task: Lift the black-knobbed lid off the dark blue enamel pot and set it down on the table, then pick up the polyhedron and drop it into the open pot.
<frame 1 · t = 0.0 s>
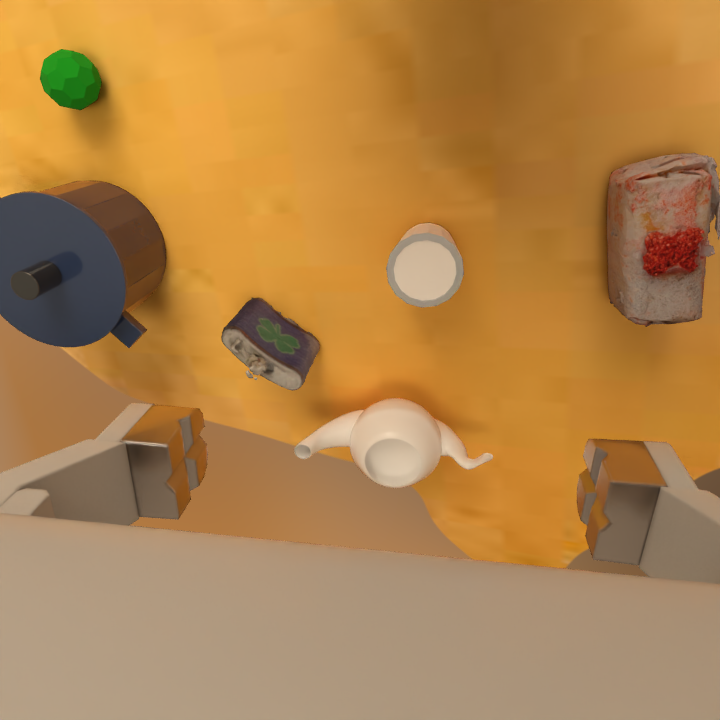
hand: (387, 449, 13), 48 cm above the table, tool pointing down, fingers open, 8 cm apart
polyhedron: (86, 80, 57), on the table
flask: (283, 326, 65), on the table
tan cup: (426, 250, 60), on the table
teapot: (399, 414, 68), on the table
food item: (643, 228, 56), on the table
pot lid: (51, 272, 55), point 9 cm above the table, touching pot
pot: (104, 246, 64), on the table
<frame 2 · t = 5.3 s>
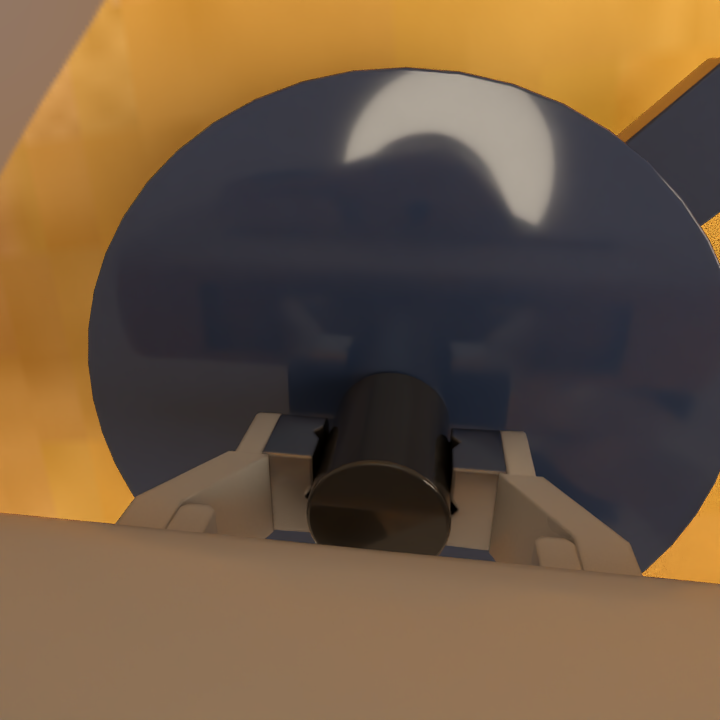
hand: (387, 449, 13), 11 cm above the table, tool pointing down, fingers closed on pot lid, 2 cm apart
pot lid: (394, 411, 14), point 10 cm above the table, touching gripper, pot
pot: (412, 286, 23), on the table
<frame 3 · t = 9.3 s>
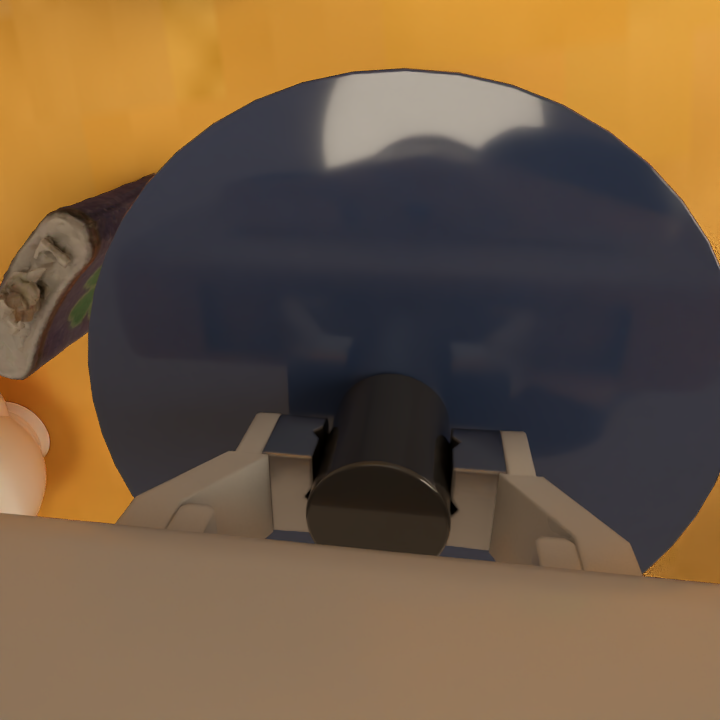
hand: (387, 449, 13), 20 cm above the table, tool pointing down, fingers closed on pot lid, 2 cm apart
flask: (132, 244, 33), on the table
teapot: (19, 431, 40), on the table
pot lid: (394, 412, 14), point 18 cm above the table, touching gripper
when the fingers open (2 cm above the table, at t = 13.3 s): pot lid stays where it is, point 1 cm above the table.
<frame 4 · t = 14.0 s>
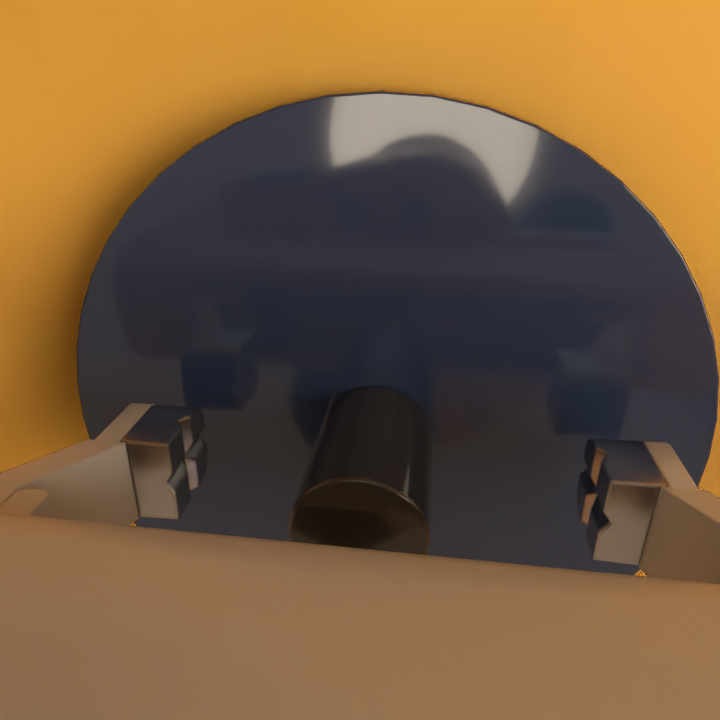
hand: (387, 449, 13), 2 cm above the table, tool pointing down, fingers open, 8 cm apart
pot lid: (379, 424, 14), point 1 cm above the table
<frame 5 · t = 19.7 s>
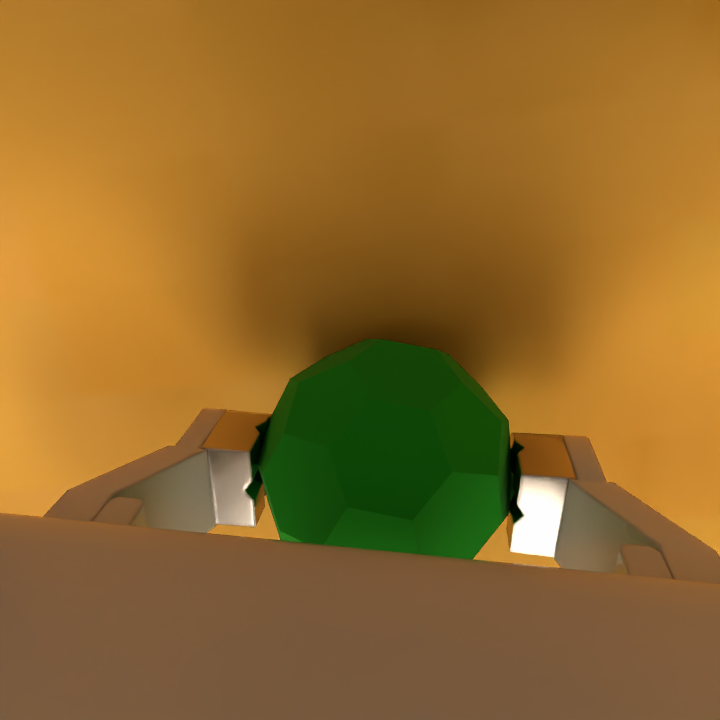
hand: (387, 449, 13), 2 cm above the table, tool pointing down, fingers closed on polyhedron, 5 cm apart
polyhedron: (395, 400, 14), on the table, touching gripper
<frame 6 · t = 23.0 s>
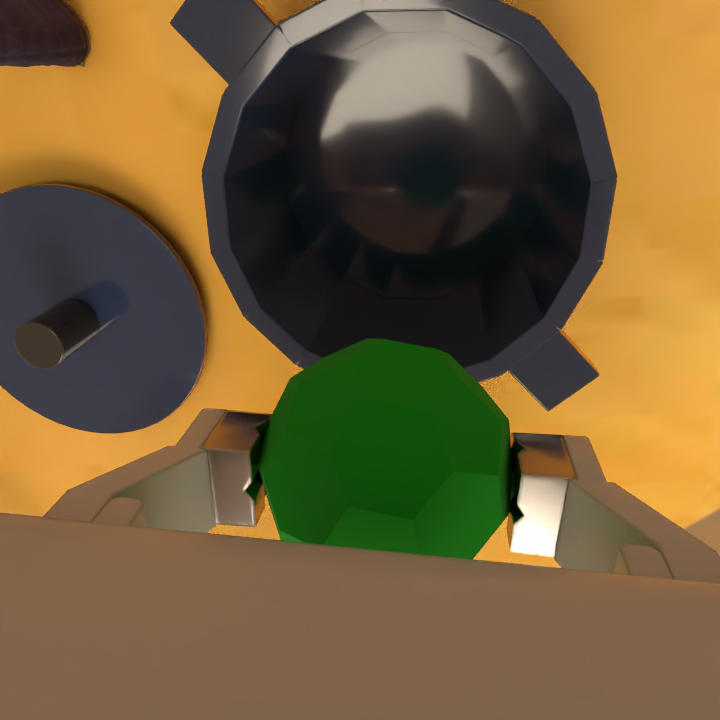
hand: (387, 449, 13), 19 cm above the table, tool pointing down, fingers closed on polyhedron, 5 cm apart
polyhedron: (395, 400, 14), point 17 cm above the table, touching gripper
pot lid: (81, 317, 34), point 1 cm above the table
pot: (413, 175, 29), on the table
when the fingers open (8 cm above the table, at t = 26.4 s): polyhedron drops 4 cm, resting on pot.
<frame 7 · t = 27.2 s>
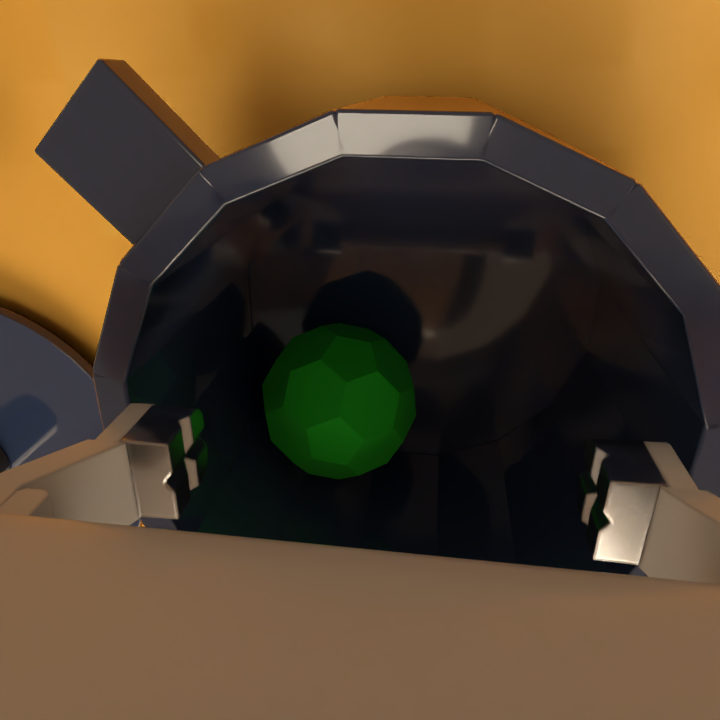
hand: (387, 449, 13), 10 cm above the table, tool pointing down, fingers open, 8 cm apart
polyhedron: (392, 343, 20), point 2 cm above the table, touching pot
pot: (417, 303, 21), on the table
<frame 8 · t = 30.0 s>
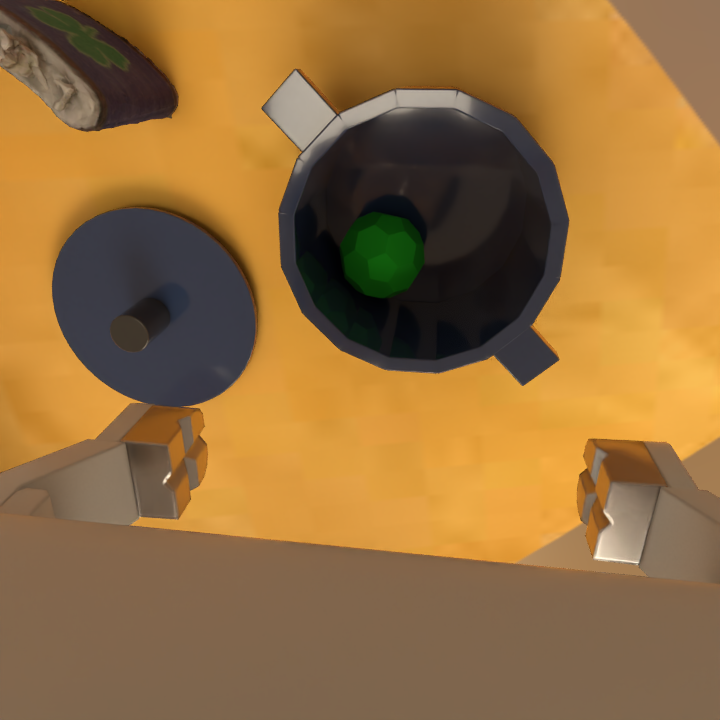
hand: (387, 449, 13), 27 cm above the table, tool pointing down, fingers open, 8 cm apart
polyhedron: (411, 224, 35), point 2 cm above the table, touching pot
flask: (114, 60, 36), on the table
pot lid: (155, 312, 42), point 1 cm above the table
pot: (424, 206, 37), on the table
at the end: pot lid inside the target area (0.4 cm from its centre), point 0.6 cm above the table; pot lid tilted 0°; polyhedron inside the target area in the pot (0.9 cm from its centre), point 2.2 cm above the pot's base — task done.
